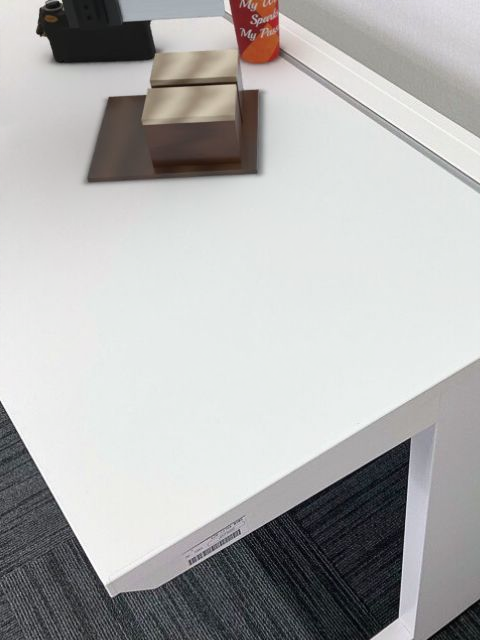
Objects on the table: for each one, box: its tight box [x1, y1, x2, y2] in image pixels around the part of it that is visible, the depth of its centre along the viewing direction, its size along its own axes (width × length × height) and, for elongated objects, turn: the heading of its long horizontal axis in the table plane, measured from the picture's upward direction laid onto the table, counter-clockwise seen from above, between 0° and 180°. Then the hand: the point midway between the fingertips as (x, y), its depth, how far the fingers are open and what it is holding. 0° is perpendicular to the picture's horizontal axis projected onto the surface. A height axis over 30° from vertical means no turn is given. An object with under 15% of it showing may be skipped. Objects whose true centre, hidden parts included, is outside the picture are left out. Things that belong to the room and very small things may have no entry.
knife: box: [61, 0, 227, 28], centre depth 88 cm, size 18×2×4 cm, turn 94°
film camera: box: [35, 0, 157, 64], centre depth 114 cm, size 18×12×10 cm
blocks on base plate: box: [86, 48, 260, 183], centre depth 99 cm, size 21×19×8 cm
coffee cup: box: [228, 0, 281, 64], centre depth 110 cm, size 8×8×15 cm
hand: (96, 21), depth 89 cm, fingers closed on knife, 2 cm apart
